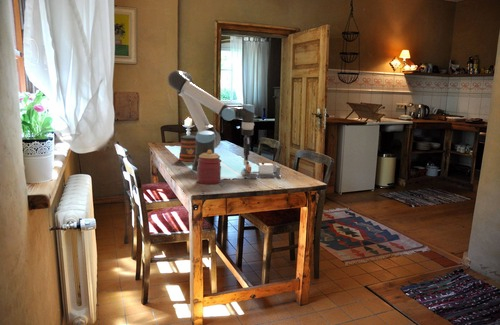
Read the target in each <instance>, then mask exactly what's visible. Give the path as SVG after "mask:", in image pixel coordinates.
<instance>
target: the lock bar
mask: <svg viewBox="0 0 500 325" xmlns="http://www.w3.org/2000/svg"><path fill="white" fill-rule="evenodd" d="M245 169H246V172H252V166H251V165H250V162H249V161H248V162H246V165H245Z"/></svg>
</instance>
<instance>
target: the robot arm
mask: <svg viewBox="0 0 500 325" xmlns="http://www.w3.org/2000/svg"><path fill="white" fill-rule="evenodd" d="M167 76H168V77H167V82H168V85H169V87H170V88H172V89H173V90H175V91H176V93H177V95H178V96H180V97H181V98H182V99H183V100H182V101H183V102H184V104H185V106H186V108H187V110H188V112H189V114H190V116H191V118H192V120H193V123H194V124H195V127H196V128H197V132H196V156H195V159H194V161H193V162H192V168H191V169H192V170H194V171H197V165H198V161H197V160H198V159H199V158H200V157H199V155H201V154H202V153H207V151H208V150H212V153H215V149H216V148H218V146H220V143H221V140H222V139H221V135H220V133H219V132H217V130H216V128H215V127H214V125H212V124H210V120H208V117H207V116H206V113H205V111H204V109H203V107H202V105H203V106H205V107H206V108H207V109H209V110H210V111H213V113H216V114H217V115H219V116H220V117H222V118H223V120H225V121H232V120H241V135H242V136H244V137H243V166H246V162H249V156H250V150H251V142H252V141H251V139H252V138H251V137H250V136H253V135H254V126H255V123H254V122H255V105H253V104H243V105H242V106H241V107H240V106H239V107H238V106H230V105H228V104H226V103H224V102H223V101H221V100H219V99H218V98H217V97H214V96H213V95H211V94H210V93H208V92H207V91H205V90H203V89H202V88H200V87H198V86H197V85H196V84H194V83H193V82H194V80H193V77H192V75H191V74H190V73H189V72H186V71H184V70H173V71H171V72H170V73H169V74H168V75H167Z"/></svg>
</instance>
